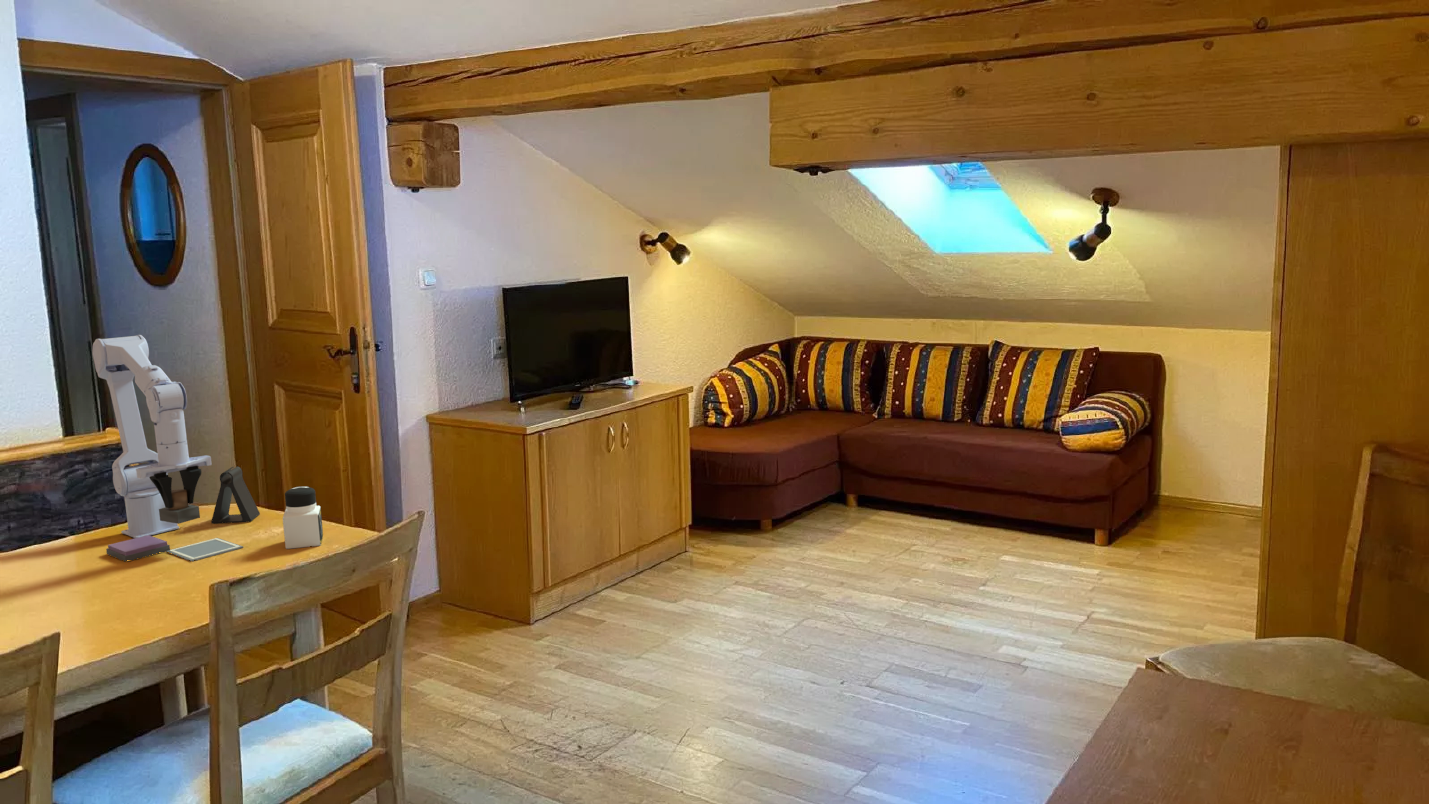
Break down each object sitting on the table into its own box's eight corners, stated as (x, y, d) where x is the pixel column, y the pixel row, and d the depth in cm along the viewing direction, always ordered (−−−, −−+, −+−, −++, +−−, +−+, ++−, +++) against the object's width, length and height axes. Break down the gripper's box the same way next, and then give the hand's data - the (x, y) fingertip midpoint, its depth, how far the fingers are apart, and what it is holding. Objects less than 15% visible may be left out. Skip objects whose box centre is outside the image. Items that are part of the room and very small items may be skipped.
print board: (217, 539, 235) (217, 537, 235) (243, 547, 228) (243, 546, 228) (166, 552, 226) (166, 550, 226) (191, 561, 219) (191, 559, 219)
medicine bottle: (321, 546, 228) (316, 491, 226) (285, 549, 226) (280, 494, 224) (323, 536, 235) (318, 483, 233) (288, 540, 233) (283, 486, 231)
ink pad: (150, 543, 233) (149, 534, 233) (170, 550, 227) (169, 541, 227) (106, 554, 226) (105, 545, 226) (125, 562, 220) (124, 552, 220)
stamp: (181, 514, 229) (178, 487, 228) (200, 517, 226) (197, 490, 225) (160, 520, 225) (156, 492, 224) (178, 523, 222) (175, 495, 221)
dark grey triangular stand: (260, 514, 253) (255, 465, 251) (251, 522, 247) (245, 471, 245) (221, 516, 253) (215, 467, 251) (211, 523, 247) (205, 473, 245)
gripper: (144, 450, 215) (152, 516, 217) (215, 437, 226) (222, 500, 228) (128, 446, 219) (136, 510, 221) (199, 434, 230) (206, 495, 232)
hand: (179, 505), depth 225 cm, fingers closed on stamp, 4 cm apart
